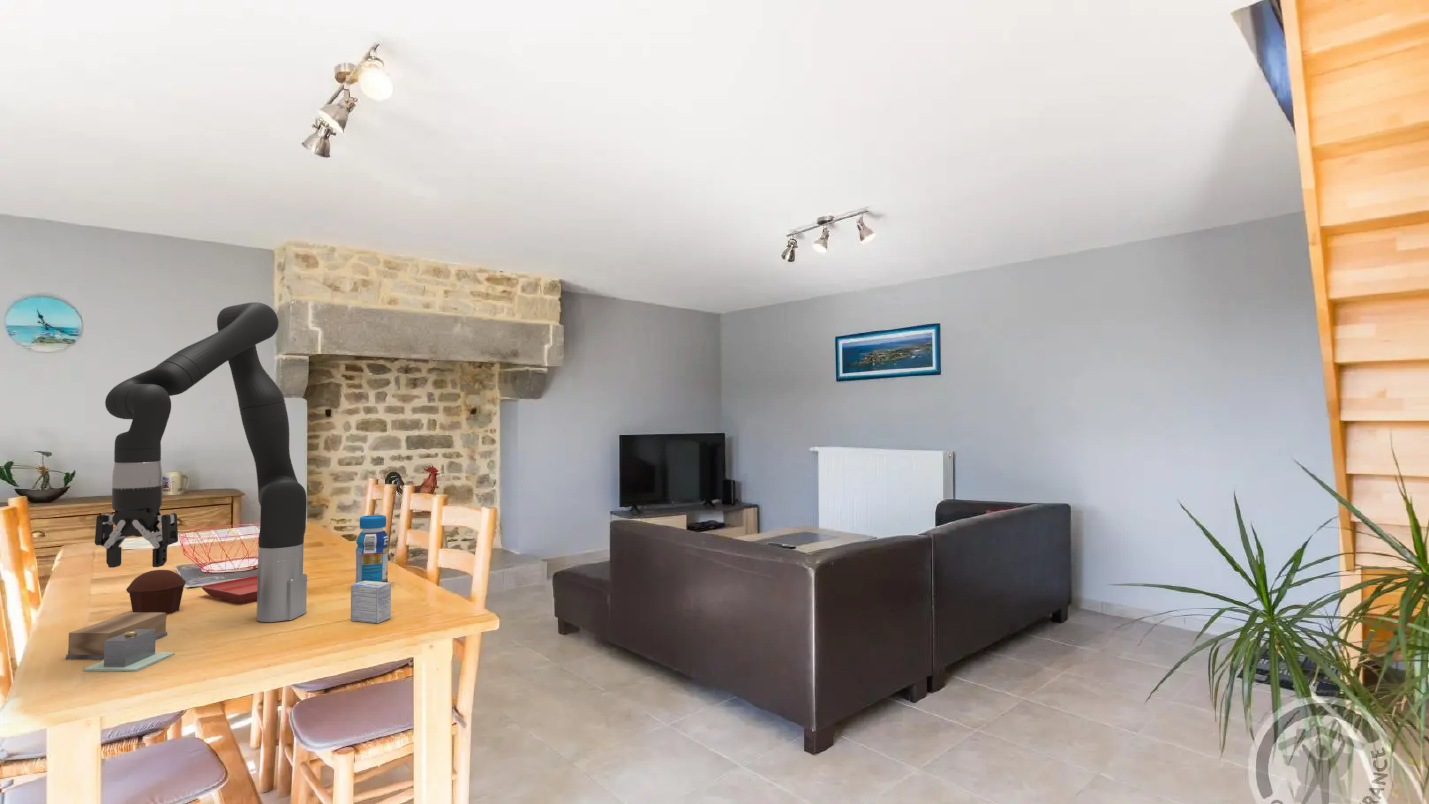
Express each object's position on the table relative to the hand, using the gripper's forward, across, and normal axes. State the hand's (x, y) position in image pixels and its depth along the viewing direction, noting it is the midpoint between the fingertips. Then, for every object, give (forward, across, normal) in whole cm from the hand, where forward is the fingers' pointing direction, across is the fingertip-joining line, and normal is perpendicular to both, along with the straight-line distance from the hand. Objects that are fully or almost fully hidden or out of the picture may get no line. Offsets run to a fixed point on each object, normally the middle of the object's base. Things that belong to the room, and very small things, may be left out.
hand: (136, 566), depth 133 cm
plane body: (+18, +10, -8) cm, 22 cm away
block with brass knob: (+18, 0, +1) cm, 18 cm away
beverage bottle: (+19, -19, -56) cm, 63 cm away
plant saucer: (+19, +9, -50) cm, 54 cm away
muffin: (+19, +21, -32) cm, 43 cm away
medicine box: (+19, -33, -27) cm, 47 cm away
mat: (+18, 0, +1) cm, 18 cm away
